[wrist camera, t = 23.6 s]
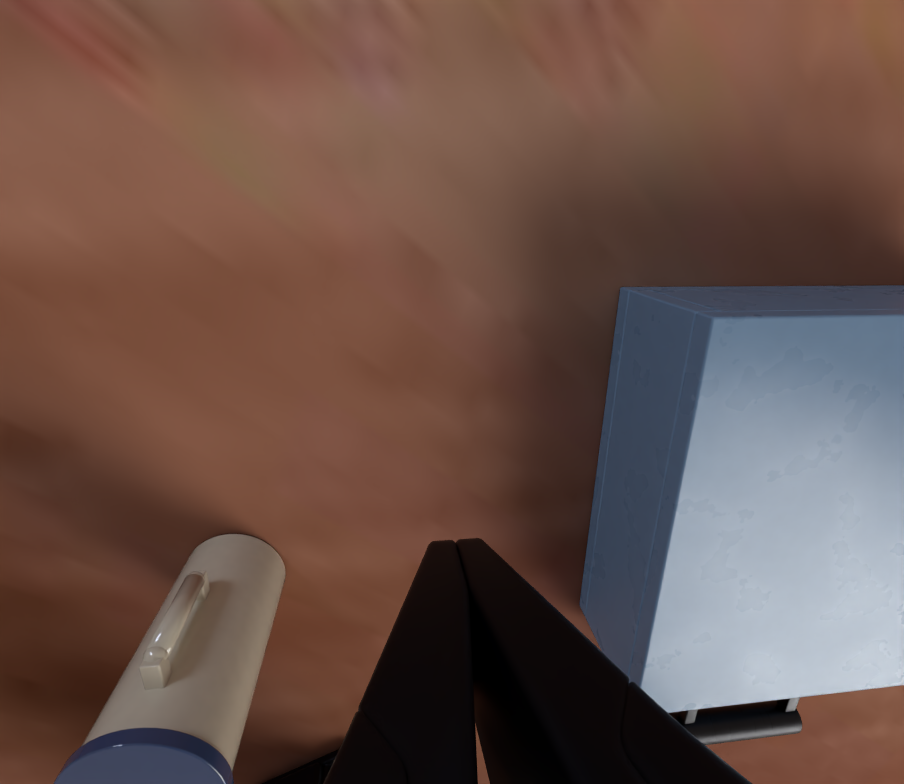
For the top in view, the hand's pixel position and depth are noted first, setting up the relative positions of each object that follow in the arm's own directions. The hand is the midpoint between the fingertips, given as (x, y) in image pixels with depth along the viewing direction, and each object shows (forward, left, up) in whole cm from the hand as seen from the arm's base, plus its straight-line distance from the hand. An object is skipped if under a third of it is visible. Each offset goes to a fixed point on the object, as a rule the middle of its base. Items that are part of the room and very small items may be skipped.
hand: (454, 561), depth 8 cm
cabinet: (-12, -12, -13) cm, 21 cm away
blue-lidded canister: (-6, +12, -13) cm, 19 cm away
